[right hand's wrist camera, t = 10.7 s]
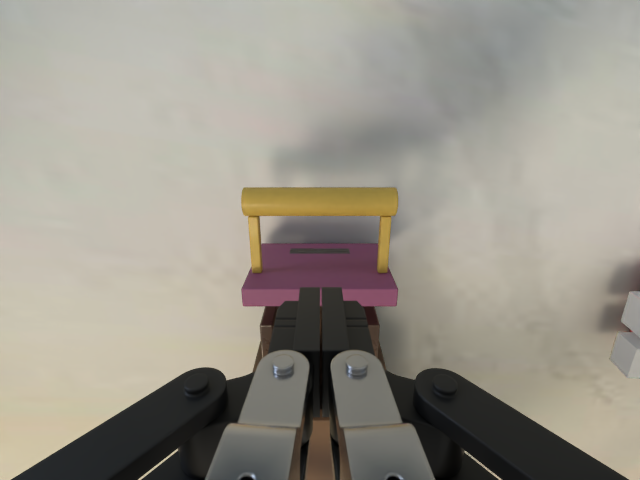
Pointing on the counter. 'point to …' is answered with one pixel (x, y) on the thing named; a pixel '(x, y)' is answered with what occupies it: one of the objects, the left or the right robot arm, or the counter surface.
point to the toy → (629, 339)
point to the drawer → (319, 254)
